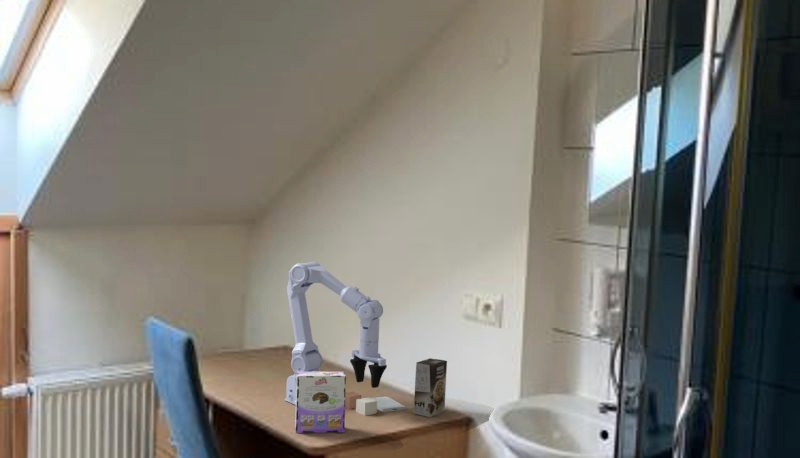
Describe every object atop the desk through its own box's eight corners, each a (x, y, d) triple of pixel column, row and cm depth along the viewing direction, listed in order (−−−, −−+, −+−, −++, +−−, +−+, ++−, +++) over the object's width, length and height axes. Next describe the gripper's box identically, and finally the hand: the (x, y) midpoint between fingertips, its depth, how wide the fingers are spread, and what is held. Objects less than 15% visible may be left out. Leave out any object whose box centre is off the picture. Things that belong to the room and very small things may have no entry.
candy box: (342, 426, 244) (344, 370, 243) (344, 433, 238) (346, 375, 237) (294, 427, 242) (296, 370, 241) (295, 433, 236) (297, 375, 235)
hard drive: (365, 398, 272) (383, 408, 261) (387, 396, 276) (406, 406, 265) (365, 403, 272) (382, 413, 261) (387, 401, 276) (406, 411, 265)
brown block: (349, 409, 263) (349, 396, 262) (340, 405, 266) (341, 393, 266) (360, 407, 266) (361, 394, 265) (352, 404, 269) (352, 391, 269)
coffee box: (430, 417, 257) (433, 365, 256) (412, 413, 261) (415, 362, 260) (445, 411, 265) (448, 360, 264) (427, 407, 268) (430, 357, 267)
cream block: (364, 415, 257) (365, 402, 256) (355, 412, 260) (356, 399, 260) (376, 413, 259) (376, 400, 259) (367, 410, 263) (367, 397, 263)
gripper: (394, 343, 255) (392, 388, 256) (365, 335, 266) (363, 377, 267) (375, 345, 251) (374, 391, 252) (347, 337, 262) (345, 380, 263)
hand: (367, 384), depth 259 cm, fingers open, 7 cm apart
